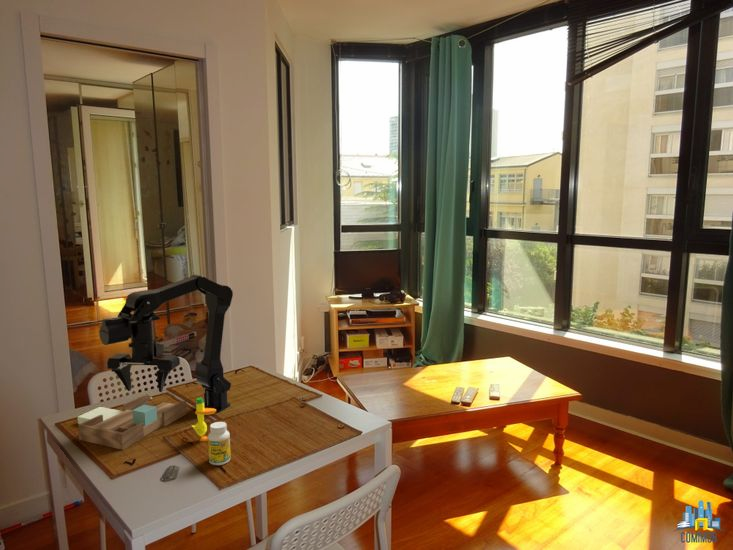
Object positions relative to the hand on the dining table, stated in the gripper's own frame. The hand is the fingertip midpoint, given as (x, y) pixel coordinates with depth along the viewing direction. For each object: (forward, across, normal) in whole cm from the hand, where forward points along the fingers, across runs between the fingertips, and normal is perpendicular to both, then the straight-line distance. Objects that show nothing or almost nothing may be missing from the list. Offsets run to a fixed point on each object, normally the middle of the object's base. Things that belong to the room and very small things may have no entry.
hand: (145, 391), depth 147 cm
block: (+9, +1, 0) cm, 9 cm away
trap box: (+12, +5, -3) cm, 13 cm away
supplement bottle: (+12, -27, +15) cm, 33 cm away
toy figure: (+12, -18, +4) cm, 22 cm away
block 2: (+13, -17, +22) cm, 31 cm away
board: (+12, +17, -5) cm, 21 cm away
